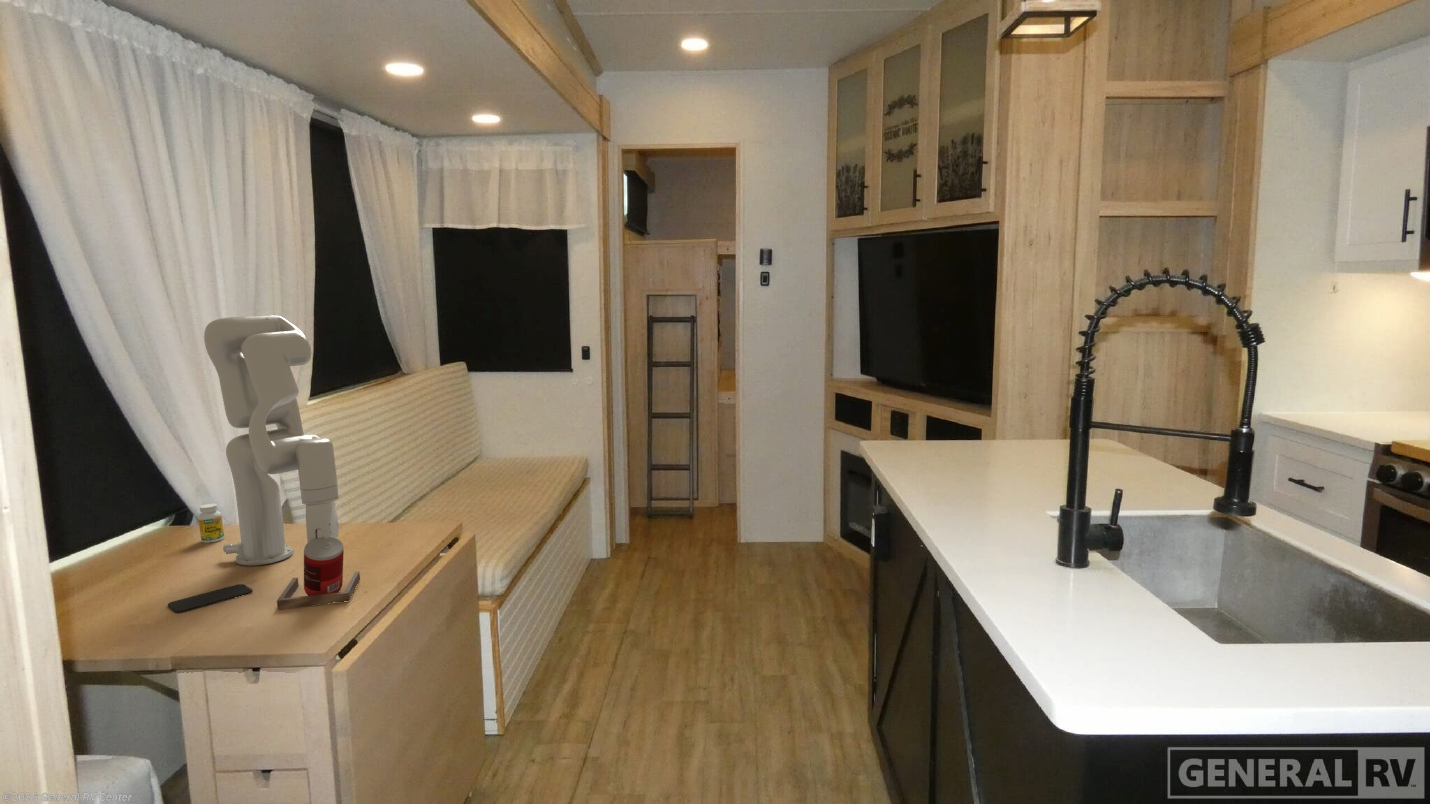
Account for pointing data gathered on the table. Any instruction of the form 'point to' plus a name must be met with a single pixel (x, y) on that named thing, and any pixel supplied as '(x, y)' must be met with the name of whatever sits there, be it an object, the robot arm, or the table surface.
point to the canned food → (323, 566)
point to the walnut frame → (303, 601)
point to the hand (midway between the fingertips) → (329, 573)
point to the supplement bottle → (210, 523)
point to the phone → (209, 598)
